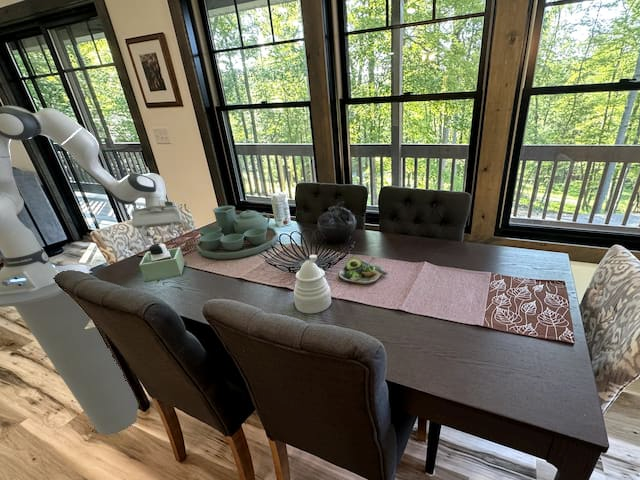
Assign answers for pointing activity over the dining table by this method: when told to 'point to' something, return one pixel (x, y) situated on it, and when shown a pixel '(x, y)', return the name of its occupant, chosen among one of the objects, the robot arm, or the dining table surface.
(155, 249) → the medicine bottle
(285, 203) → the white ribbed cylinder
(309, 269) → the honey pot
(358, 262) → the salad plate
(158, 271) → the bin
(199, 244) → the tea set
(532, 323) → the dining table surface
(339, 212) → the coal bowl
